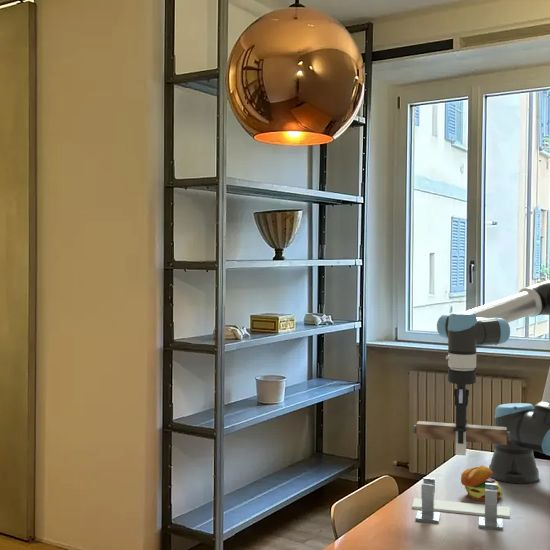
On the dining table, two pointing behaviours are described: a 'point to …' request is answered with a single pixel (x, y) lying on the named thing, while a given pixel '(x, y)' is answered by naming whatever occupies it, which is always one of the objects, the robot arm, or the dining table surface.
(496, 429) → the rail
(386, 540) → the dining table surface
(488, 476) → the cheeseburger
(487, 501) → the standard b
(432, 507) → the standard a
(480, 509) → the white plank
